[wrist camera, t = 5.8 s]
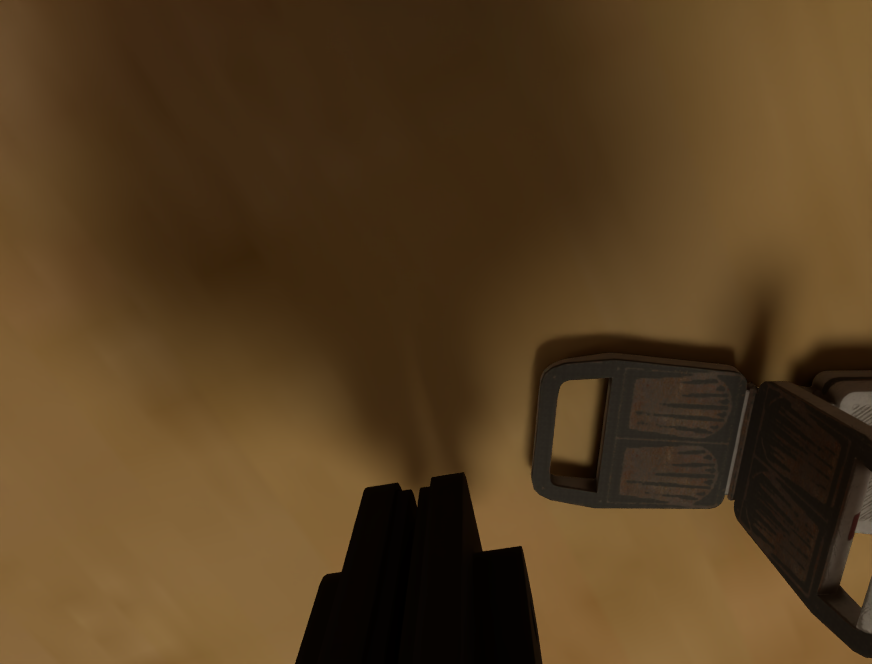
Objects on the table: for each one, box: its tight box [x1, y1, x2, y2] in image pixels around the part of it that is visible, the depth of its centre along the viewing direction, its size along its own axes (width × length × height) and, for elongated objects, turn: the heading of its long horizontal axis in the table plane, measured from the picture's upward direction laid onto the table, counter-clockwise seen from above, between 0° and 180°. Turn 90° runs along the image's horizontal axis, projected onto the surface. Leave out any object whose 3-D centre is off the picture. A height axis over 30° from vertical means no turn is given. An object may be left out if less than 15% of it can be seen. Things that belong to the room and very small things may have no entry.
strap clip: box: [531, 352, 872, 658], centre depth 10 cm, size 8×3×4 cm, turn 88°
